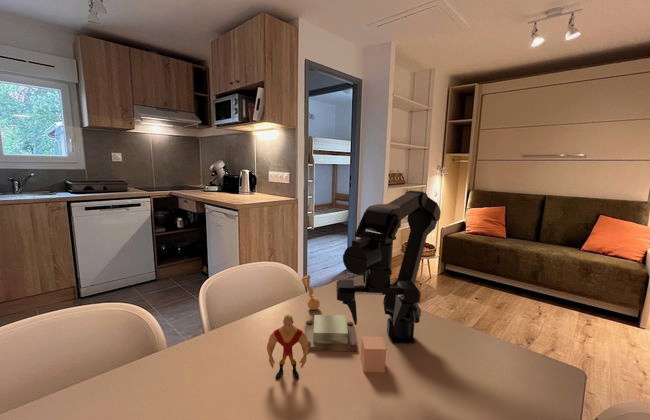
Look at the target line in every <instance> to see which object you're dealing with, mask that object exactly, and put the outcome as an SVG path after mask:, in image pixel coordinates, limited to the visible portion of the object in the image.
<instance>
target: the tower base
mask: <svg viewBox="0 0 650 420" xmlns="http://www.w3.org/2000/svg"><path fill="white" fill-rule="evenodd" d="M313 316H314V317H313V320H306V321H305V325H304V326H305V327H304V333H305V335H306V337H307V340H308V344H309V350H308V351H330V352H333V351H335V352H337V351H339V352H358V342H357V337H356V331H355V327H354V326H355V325H354V321H353V322H352V321H347V317H346V315H336V314H335V315H334V314H333V315H332V314H331V315H330V314H329V315H327V314H314V315H313Z"/></svg>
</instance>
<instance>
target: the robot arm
mask: <svg viewBox="0 0 650 420" xmlns="http://www.w3.org/2000/svg"><path fill="white" fill-rule="evenodd" d="M441 213H442V212H441V208H440V206H439V205H438V202H436V201H435V200H434V199H432V198H431V197H429V195H428V194H427V193H426V192H424V191H421V190H411V189H410V190H407V191H405V193H404V194H403V195H401V196H399V197H397V198H395V199H393V200H392V201H390V202H389V203H381V204H379V203H378V204H373V205H369V206H368V207H367V208H366V209H365V211H364V213H363V215H362V216H361V219H360V222H359V224H358V227H357V229H356V231H355V234H354V237H355V239H352V240H351V246H348V247H347V248H346V249H345V250H344V252H343V254H342V261H343V264H344V267H345V268H346V270H347V271H348V272H349V273H351V274H354V275H356V276H362V283H363V284H364V285H357V284H354V280H353V279H338V280H337V281H336V283H335V292H336V293H335V294H336V300H337V301H340V302H342V304H343V305H347V307H348V309H349V311H350V313H351V318H352V320H353V325H354V326H357V324H358V318H357V317H358V315H357V313H358V312H357V303H356V299H355V298H356V295H376V296H377V295H378V296H379V295H384V297H383V303H382V304H383V310H384V314H385V315H387V316H389V317H387V321H386V334H387V335H388V337H389V339H390V341H391V343H395V344H397V343H398V344H399V343H401V344H415V343H416V340H415V338H414V334H415V332H414V331H415V324H418V323H420V320H421V316H422V310H421V307H420V306H419V303H420V302H421V295H422V294H421V291H420V289H419V288H418V286H417V285H416V281H417V276H418V273H419V268H420V264H421V262H422V257H423V253H424V250H425V246H426V245H425V244H426V243H427V242H426V241H427V238H428V236H429V234H430V233H432V232H433V231H434V230H435V229H436V227H437V223H438V222H439V220H440V219H441ZM406 217H407V218H406ZM405 218H406V219H407V223H408V227H409V229H410V231H409V234H408V238H407V242H406V246H405V250H404V253H403V257H402V260H401V265H400V267H399V273H398V276H397V278H396V280H395V281H394V282H393V283H391V276H392V274H393V272H392V270H393V269H392V262H393V261H392V260H393V248H394V247H393V245H394V241H395V240H397V236H396V235H397V233H398V231H399V229H400V228H401V226H402V220H403V219H405Z"/></svg>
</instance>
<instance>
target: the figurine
mask: <svg viewBox="0 0 650 420" xmlns="http://www.w3.org/2000/svg"><path fill="white" fill-rule="evenodd" d="M310 279H311V274H307V275H306V276H303V277H302V278H301V282H302V284H303V285H304V286H305V287H306V289H307V291H308V295H309V299H308V301H307V307H308V308H309V310H311V311H316V310H318V309H319V307H320V304H321V303H320V300H319V298H317V297H316V296H313V294H314V292H315V291H314V288H313V287H312V286H311V285H310V284H311V283H310V282H311V280H310Z"/></svg>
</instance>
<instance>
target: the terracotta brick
mask: <svg viewBox="0 0 650 420" xmlns="http://www.w3.org/2000/svg"><path fill="white" fill-rule="evenodd" d="M360 345H361V346H360V361H361V367H362V372H363V373H385V372H386V371H385V370H386V360H387V358H386V357H387V347H386V345H385V341H384V337H383V336H377V335H376V336H375V335H374V336H372V335H371V336H370V335H368V336H367V335H361V344H360Z"/></svg>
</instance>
